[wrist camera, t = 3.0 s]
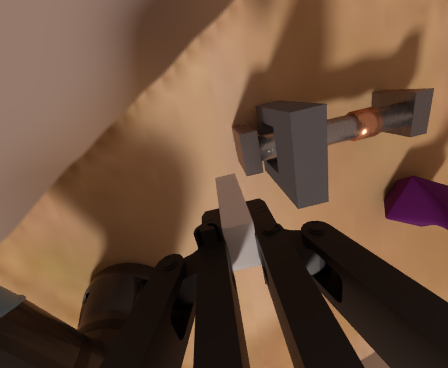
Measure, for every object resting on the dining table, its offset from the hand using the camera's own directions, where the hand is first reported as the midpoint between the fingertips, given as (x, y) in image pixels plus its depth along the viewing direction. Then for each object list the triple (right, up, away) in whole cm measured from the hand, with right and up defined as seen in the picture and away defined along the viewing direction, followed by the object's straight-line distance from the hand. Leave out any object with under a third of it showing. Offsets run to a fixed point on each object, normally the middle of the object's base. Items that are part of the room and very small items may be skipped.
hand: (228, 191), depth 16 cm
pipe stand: (+12, +9, +14) cm, 20 cm away
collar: (+6, +7, +14) cm, 17 cm away
